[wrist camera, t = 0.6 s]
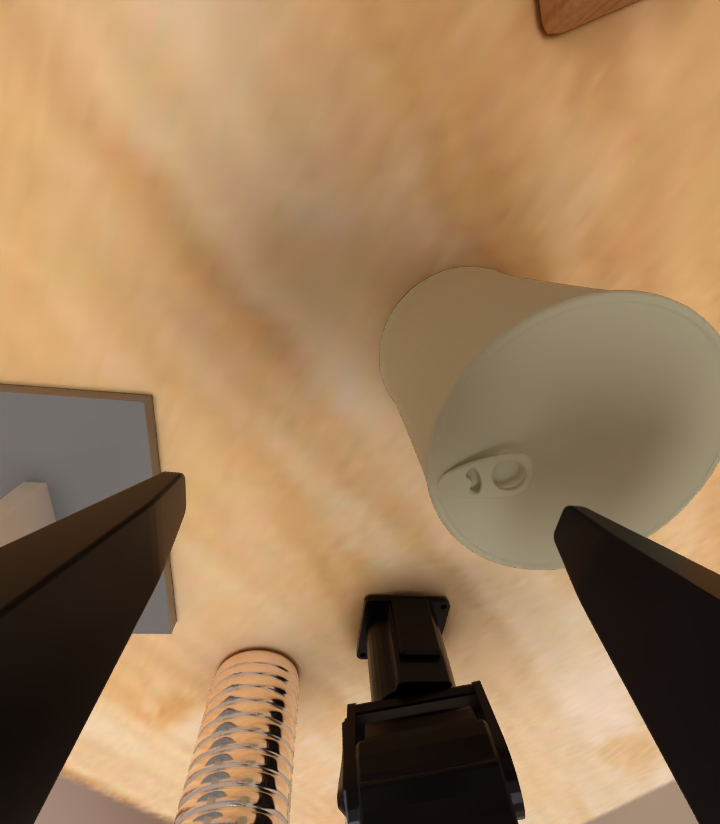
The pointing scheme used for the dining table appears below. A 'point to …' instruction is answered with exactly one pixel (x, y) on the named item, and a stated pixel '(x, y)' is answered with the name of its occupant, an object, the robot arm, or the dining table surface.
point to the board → (83, 458)
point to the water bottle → (245, 744)
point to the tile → (25, 511)
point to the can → (551, 406)
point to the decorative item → (575, 12)
